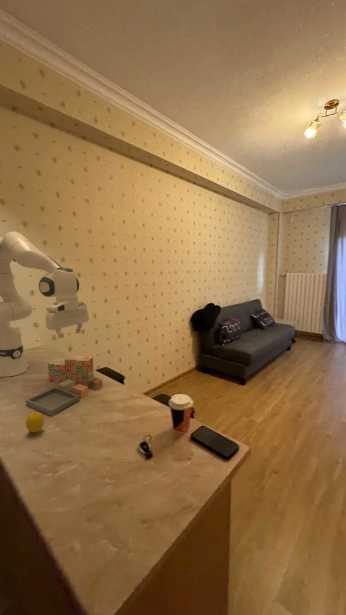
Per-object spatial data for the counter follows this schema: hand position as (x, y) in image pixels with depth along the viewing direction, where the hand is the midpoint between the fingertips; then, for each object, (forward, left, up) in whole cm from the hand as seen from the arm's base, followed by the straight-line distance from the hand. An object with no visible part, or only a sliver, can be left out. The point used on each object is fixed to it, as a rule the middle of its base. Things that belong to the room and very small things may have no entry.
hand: (70, 335), depth 119 cm
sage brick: (-4, 0, -28) cm, 28 cm away
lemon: (+13, -27, -28) cm, 41 cm away
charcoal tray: (+1, -11, -28) cm, 30 cm away
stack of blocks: (-12, +9, -28) cm, 31 cm away
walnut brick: (+5, +9, -28) cm, 29 cm away
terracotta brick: (+5, 0, -28) cm, 28 cm away
